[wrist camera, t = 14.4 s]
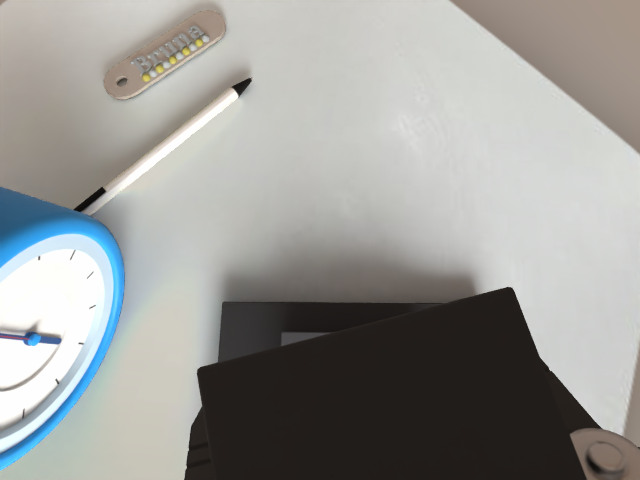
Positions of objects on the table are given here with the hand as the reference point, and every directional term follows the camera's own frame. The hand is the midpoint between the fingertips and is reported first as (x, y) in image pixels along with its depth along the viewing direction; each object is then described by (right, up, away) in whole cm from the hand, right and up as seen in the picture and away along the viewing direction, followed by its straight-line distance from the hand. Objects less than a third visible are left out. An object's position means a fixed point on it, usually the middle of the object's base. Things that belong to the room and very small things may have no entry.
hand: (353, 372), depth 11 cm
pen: (-13, +9, +21) cm, 26 cm away
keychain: (-13, +17, +23) cm, 31 cm away
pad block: (+1, -3, +4) cm, 5 cm away
